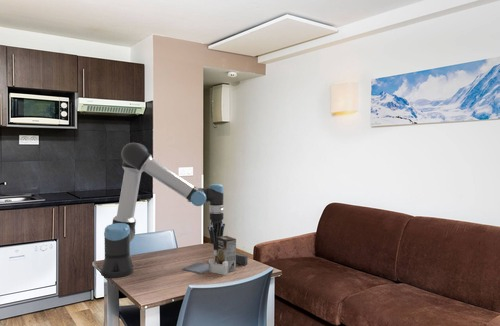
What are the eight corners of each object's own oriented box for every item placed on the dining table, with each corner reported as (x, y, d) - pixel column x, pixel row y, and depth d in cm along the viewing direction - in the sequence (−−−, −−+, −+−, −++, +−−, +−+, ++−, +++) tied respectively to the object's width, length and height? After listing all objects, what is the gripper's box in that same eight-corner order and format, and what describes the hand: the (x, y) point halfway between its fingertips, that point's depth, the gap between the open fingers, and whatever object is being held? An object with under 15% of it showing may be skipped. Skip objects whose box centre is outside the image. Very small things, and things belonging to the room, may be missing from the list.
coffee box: (216, 268, 192) (216, 236, 191) (226, 265, 196) (226, 235, 195) (225, 272, 185) (225, 240, 184) (236, 270, 188) (236, 238, 188)
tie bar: (215, 259, 206) (215, 250, 206) (218, 258, 208) (218, 249, 208) (244, 265, 196) (244, 256, 196) (247, 263, 198) (247, 254, 198)
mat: (181, 269, 189) (181, 268, 189) (198, 263, 200) (198, 262, 200) (202, 274, 182) (202, 272, 182) (217, 267, 193) (217, 265, 193)
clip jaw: (208, 271, 186) (208, 259, 186) (211, 270, 188) (211, 258, 188) (225, 275, 181) (225, 262, 181) (228, 273, 183) (228, 261, 183)
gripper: (214, 214, 197) (214, 259, 197) (229, 211, 208) (229, 253, 208) (203, 213, 201) (203, 257, 201) (218, 210, 212) (218, 251, 212)
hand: (216, 255), depth 205 cm, fingers closed
